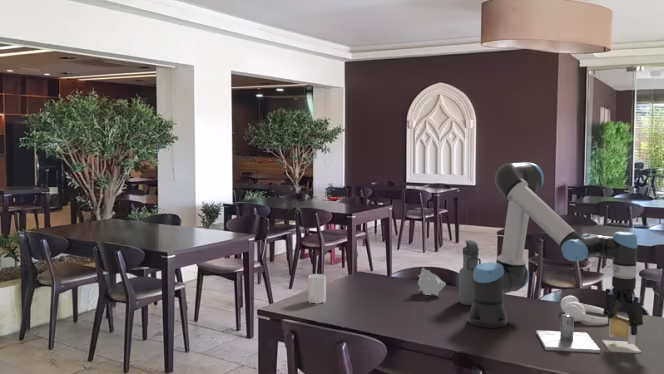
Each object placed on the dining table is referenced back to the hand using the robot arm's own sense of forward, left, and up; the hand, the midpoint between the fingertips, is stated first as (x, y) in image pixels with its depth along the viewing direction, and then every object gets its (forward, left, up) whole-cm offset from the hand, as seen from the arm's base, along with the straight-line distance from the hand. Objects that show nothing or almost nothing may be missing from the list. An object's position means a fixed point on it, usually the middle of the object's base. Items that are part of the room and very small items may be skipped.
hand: (621, 339), depth 209 cm
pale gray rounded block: (-118, +39, -3) cm, 124 cm away
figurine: (-66, +62, -3) cm, 91 cm away
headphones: (-2, +35, -3) cm, 35 cm away
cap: (0, 0, +2) cm, 2 cm away
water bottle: (-49, +50, -3) cm, 70 cm away
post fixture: (-18, +2, -3) cm, 18 cm away
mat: (0, 0, -3) cm, 3 cm away
